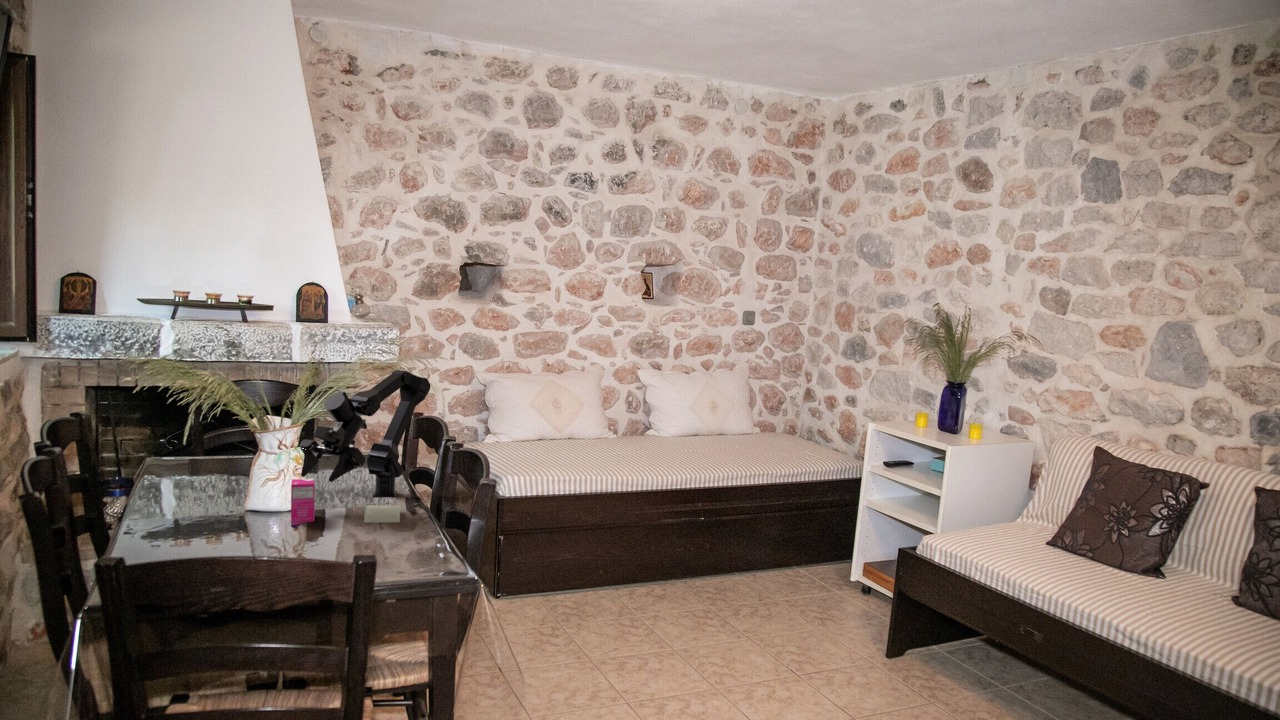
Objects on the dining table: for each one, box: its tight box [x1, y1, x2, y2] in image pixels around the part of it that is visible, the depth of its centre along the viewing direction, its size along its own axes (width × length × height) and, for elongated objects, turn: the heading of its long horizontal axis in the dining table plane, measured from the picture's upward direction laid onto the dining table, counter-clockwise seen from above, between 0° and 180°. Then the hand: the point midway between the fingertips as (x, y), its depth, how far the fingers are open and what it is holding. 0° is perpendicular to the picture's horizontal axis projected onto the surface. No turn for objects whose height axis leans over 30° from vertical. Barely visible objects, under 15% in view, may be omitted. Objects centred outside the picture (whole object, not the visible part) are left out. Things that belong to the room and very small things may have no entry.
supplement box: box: [290, 477, 316, 528], centre depth 218 cm, size 6×6×12 cm
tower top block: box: [363, 505, 401, 524], centre depth 224 cm, size 9×9×2 cm
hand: (315, 478), depth 221 cm, fingers open, 9 cm apart
